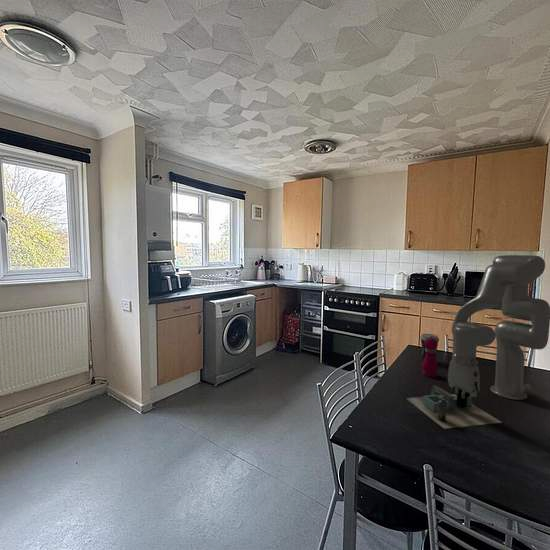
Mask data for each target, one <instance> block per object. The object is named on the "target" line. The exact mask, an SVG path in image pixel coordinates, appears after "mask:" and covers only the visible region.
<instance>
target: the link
mask: <svg viewBox="0 0 550 550" xmlns="http://www.w3.org/2000/svg"><path fill="white" fill-rule="evenodd" d="M422 397H423V404H425V405H426V406H427V407H428V408H430V409H431V410H432V411H438V400H439V399H443V400H445V401H447V405H446V410H449V408H452V407H458V406H457V396H454V400H448V399H447V398H445V397H440V394H439V395H431V394H429V395H422ZM472 404H473V397H471V396H469V397H468V398H467V406H466V407H472Z"/></svg>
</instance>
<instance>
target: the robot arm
mask: <svg viewBox="0 0 550 550" xmlns="http://www.w3.org/2000/svg"><path fill="white" fill-rule="evenodd" d="M545 261H546V260H544V258H543V257H541V256H539V255H533V254H532V255H531V254H530V255H527V254H526V255H525V254H523V255H522V254H521V255H520V254H507V255H506V254H505V255H498V256H496V257H494V258H493V260H492V264H490V265H488V266H487V267H486V269H485V270H484V272H483V275H482V278H481V282H480V284H479V285H478V286H479V287H478V290H477V293H476V295H475V297H474V298H472V299H471V300H469V301H467V302H466V303H465V304H464V305H462V306H461V307H460V308H459V309H458V311H457V312H456V315H455V317H454V320H453V322H452V326H451V334H452V356H451V359H450V362H449V365H448V372H447V382H448V386H449V387H450V388H451V389H452V390H453V391H454V392H455V393H454V394H456V396H457V406H458V407H460V408H464V407H466V406H467V398H468V397H469V396H471V397H472V398H477V397H478V393H477V392H480V389H481V379H480V378H481V377H480V376H481V375H480V370H479V366H478V364H479V360H477V346H482V347H483V346H485V347H486V346H489V345H491V344H493V343H494V342H495V341H496V355H495V356H496V359H495V377H494V379H495V380H494V384H493V385H490V391H491V392H492V393H493V394H495V395H497V396H499V397H502V398H505V399H509V400H516V401H522V400H527V398H528V395H527V393H526V392H525V391H526V390H531V389H532V385H531V384H529V383H528V384H524V371H525V354H524V351H523V350H522V348H521V347H523V348H528V349H533V350H543V349H545V348H546V347H547V345H548V341H549V336H550V334H549V333H550V304H549V302H548V301H547V300H545V299H542V298H535V297H529V285H530V284H531V283H532V282H534V281H536V280H537V279H538V278H539V277H541V275H543V274H544V271H545V269H546V262H545ZM499 306H501V313H502V315H503V316H504V317H506V318H512V319H514V320H515V319H516V320H522V321H528V322H531V324H530V323H523V322H519V321H518V322H517V321H512V320H501V321H499V322H497V324H496V325H495V328H494V329H493V328H492V327H491V326H487V325H484V324H480V323H474V322H469V319H470V318H471V317H472V316H473V315H474V314H475V313H478V312H481V311H484V310H490V309H492V308H496V307H499ZM495 339H496V340H495Z"/></svg>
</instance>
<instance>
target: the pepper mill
mask: <svg viewBox="0 0 550 550" xmlns="http://www.w3.org/2000/svg"><path fill="white" fill-rule="evenodd" d="M424 345H425V347H426V348H425V351H426V357H425V359H424V361H422V364H421V367H422V369H423V370H422V375H423V374H424V375H423V376H425V375H426V376H425V377H427V376H430V377H429V378H436V377H437V376H438V372H437V371H438V370H439V364H438V362H437V358H436V359H435V352H436V348H437V349H438V346H439V342H438V343H437V341H436V340H434V339H433V336H429V339H426V340H425V342H424Z"/></svg>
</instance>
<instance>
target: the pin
mask: <svg viewBox="0 0 550 550" xmlns="http://www.w3.org/2000/svg"><path fill="white" fill-rule="evenodd" d="M446 405H447V401H445V400H443V399H439V400H438V420H439V421H441V422H445V421H446Z"/></svg>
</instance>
